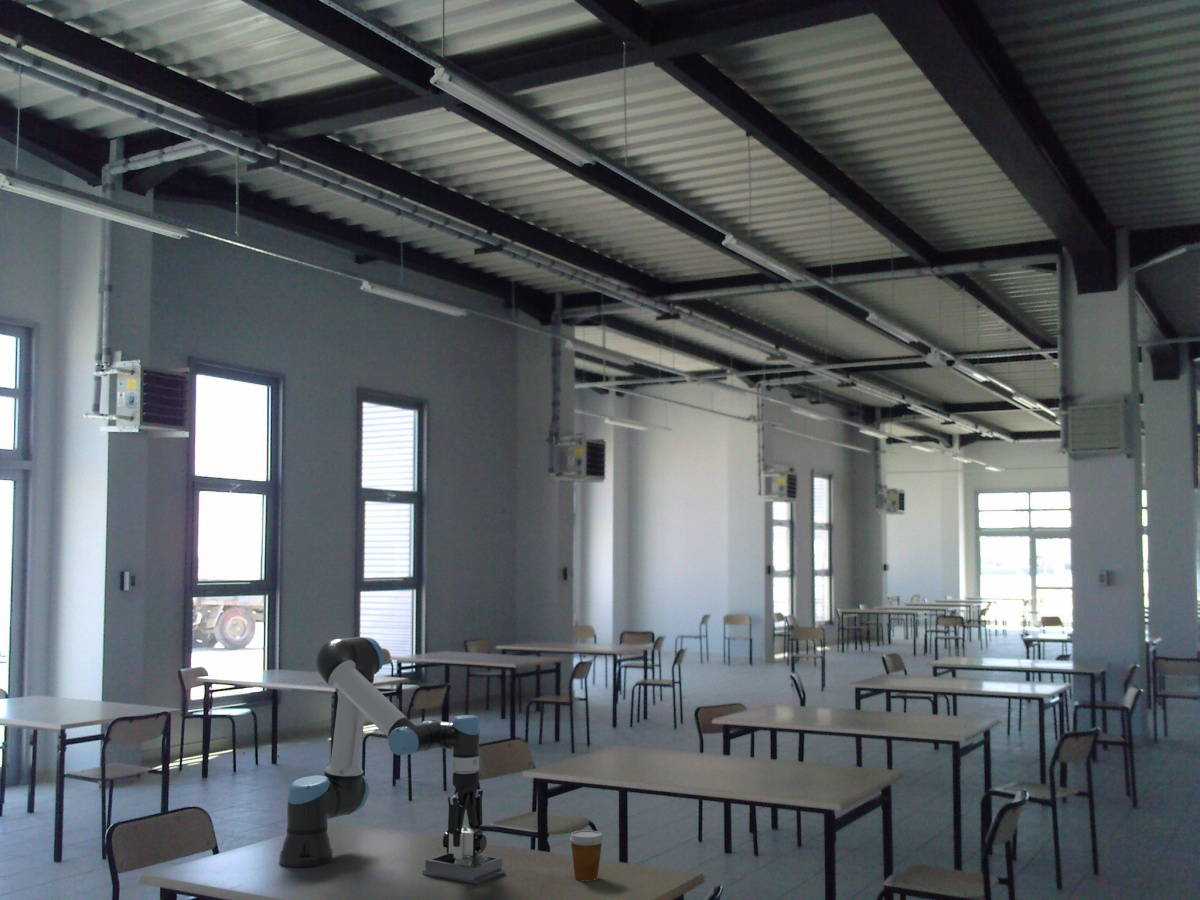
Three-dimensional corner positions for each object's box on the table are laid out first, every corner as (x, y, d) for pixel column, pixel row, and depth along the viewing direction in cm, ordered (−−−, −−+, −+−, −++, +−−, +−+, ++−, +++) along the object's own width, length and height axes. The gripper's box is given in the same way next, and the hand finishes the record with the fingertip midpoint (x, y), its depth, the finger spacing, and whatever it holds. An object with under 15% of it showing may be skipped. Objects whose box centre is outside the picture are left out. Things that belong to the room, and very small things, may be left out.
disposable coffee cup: (596, 884, 292) (596, 839, 294) (564, 881, 295) (564, 836, 297) (608, 875, 301) (608, 831, 302) (576, 872, 304) (576, 828, 306)
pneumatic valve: (479, 874, 298) (480, 829, 299) (441, 870, 302) (442, 826, 303) (487, 869, 303) (488, 825, 304) (450, 865, 307) (451, 822, 308)
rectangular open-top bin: (422, 874, 301) (422, 859, 302) (451, 863, 312) (451, 849, 313) (477, 884, 292) (477, 869, 292) (504, 873, 303) (504, 858, 303)
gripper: (456, 777, 296) (455, 864, 293) (495, 767, 312) (495, 850, 309) (434, 775, 299) (433, 861, 296) (474, 765, 315) (474, 846, 312)
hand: (465, 855), depth 303 cm, fingers closed on pneumatic valve, 6 cm apart
